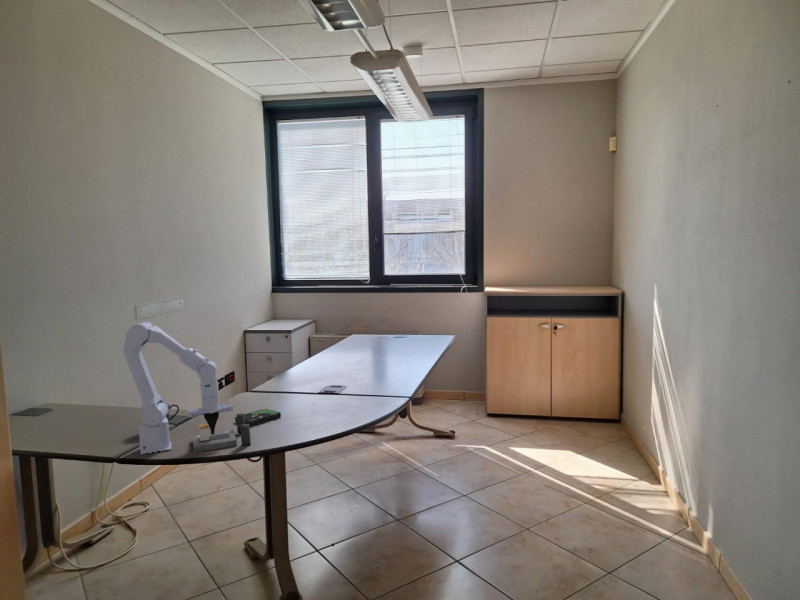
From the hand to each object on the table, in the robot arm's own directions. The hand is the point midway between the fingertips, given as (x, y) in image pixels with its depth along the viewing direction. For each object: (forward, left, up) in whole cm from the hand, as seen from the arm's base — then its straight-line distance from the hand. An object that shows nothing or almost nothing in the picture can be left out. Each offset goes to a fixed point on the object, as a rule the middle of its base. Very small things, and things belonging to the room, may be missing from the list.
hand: (212, 433), depth 188 cm
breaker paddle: (-3, 0, -1) cm, 3 cm away
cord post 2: (+10, -7, -3) cm, 13 cm away
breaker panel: (0, 0, -3) cm, 4 cm away
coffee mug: (-17, +25, -4) cm, 30 cm away
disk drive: (+18, +20, -4) cm, 27 cm away
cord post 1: (+10, +7, -4) cm, 13 cm away
